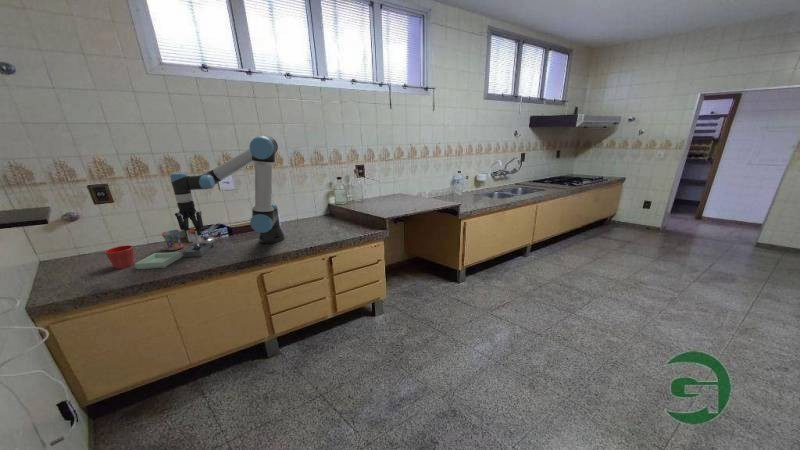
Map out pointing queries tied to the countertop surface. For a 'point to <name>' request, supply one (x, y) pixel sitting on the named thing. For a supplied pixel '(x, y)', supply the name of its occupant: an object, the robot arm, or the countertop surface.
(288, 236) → the countertop surface
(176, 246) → the mug
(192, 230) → the orange capped clear bottle
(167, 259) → the tray
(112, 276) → the countertop surface
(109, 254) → the flower pot
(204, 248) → the tensioner block
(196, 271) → the countertop surface
